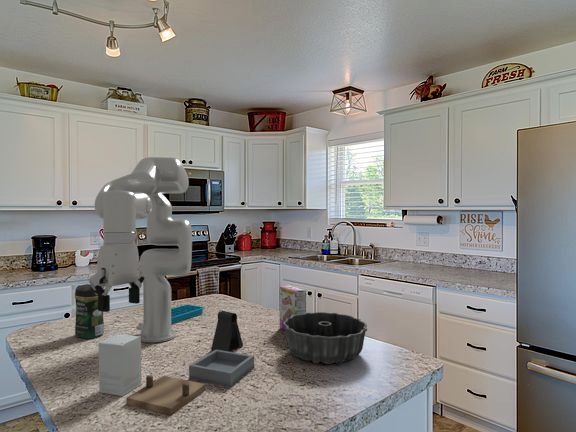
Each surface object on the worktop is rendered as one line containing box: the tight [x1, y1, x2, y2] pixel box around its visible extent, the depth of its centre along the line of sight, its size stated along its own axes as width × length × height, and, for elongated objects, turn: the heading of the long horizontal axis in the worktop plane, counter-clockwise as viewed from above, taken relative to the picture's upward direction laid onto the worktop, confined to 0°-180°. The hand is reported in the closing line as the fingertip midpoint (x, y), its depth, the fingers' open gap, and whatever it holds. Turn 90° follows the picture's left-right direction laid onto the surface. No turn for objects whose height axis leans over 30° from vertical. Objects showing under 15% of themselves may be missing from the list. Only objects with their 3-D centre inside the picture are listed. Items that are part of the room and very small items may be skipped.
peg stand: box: [125, 374, 206, 416], centre depth 94 cm, size 13×13×4 cm
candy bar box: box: [278, 285, 307, 331], centre depth 145 cm, size 11×5×16 cm, turn 35°
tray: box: [188, 350, 255, 388], centre depth 107 cm, size 13×13×4 cm
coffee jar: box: [74, 283, 105, 340], centre depth 140 cm, size 10×8×19 cm
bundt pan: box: [283, 311, 368, 365], centre depth 122 cm, size 26×26×10 cm
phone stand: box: [210, 310, 244, 352], centre depth 127 cm, size 9×6×12 cm, turn 145°
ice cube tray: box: [171, 303, 206, 325], centre depth 165 cm, size 12×20×3 cm, turn 149°
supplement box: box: [98, 333, 142, 397], centre depth 98 cm, size 7×7×13 cm
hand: (119, 307), depth 98 cm, fingers open, 9 cm apart
